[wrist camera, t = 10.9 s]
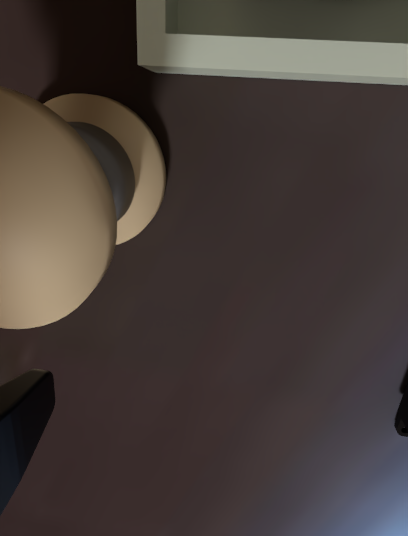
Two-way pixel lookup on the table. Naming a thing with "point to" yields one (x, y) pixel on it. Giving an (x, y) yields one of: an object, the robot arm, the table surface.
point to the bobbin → (68, 198)
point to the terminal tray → (276, 39)
